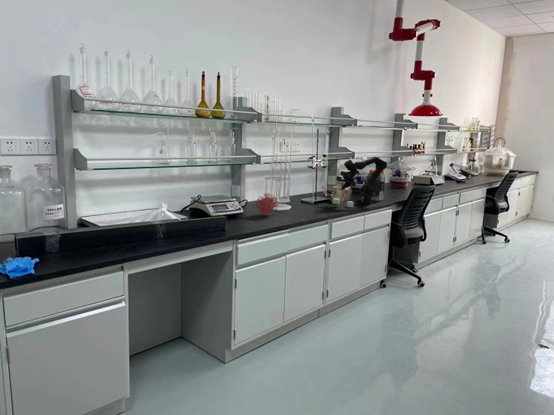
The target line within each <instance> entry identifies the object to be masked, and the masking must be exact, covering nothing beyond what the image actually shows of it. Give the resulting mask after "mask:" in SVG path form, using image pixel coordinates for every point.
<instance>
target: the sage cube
mask: <svg viewBox="0 0 554 415" xmlns="http://www.w3.org/2000/svg"><path fill="white" fill-rule="evenodd" d="M331 202H332V204H333V205H340V203H341V202H340V199H338V198H333V201H331Z"/></svg>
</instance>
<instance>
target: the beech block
mask: <svg viewBox="0 0 554 415" xmlns="http://www.w3.org/2000/svg"><path fill="white" fill-rule="evenodd" d="M344 184H345V182H338V181H337V182H336V186H337V193H336V197H338V198H344V195H345V189H343V190H341V188H342V187H343V185H344Z"/></svg>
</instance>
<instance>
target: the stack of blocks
mask: <svg viewBox="0 0 554 415" xmlns="http://www.w3.org/2000/svg"><path fill="white" fill-rule="evenodd" d="M336 193H337V185H336V186H332V192H331V194H332V195H331V202H333V198H338V197H336ZM350 196H351V188H349V187H348V188H345V195H344V198H338V199H340V203H341V202H344V201H348V200H350Z"/></svg>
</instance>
